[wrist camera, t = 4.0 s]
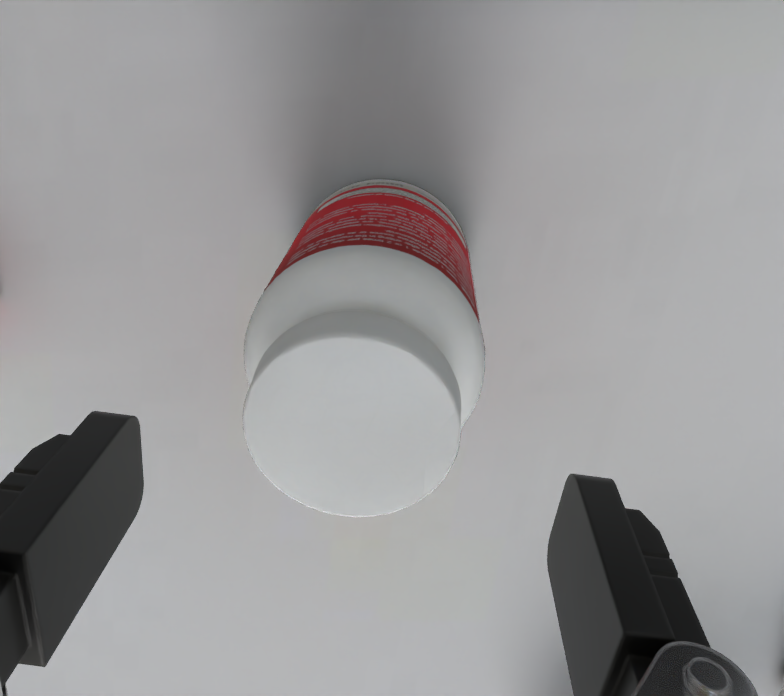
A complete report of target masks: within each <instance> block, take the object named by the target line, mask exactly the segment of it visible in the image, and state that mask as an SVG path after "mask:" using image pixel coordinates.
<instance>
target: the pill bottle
mask: <svg viewBox="0 0 784 696" xmlns="http://www.w3.org/2000/svg"><path fill="white" fill-rule="evenodd" d="M244 363H245V371H246V376H247V381H248V384H249V389H248V392H247V395H246V399H245V403H244V409H243V430H244V435H245V440H246V444H247V446H248V450H249V452H250V453H251V456H252V458H253V460H254V462H255V463H256V465H257V466H258V468H259V469H260V470H261V472H262V473H263V474H264V475H265V477H266V478H267V479H268V480H269V481H270V482H271V483H272V484H273V485H274V486H275V487H276V488H278V489H279V490H280V491H281V492H283V493H284V494H286V495H287V496H289V497H290V498H292V499H294V500H295V501H297V502H299V503H301V504H303V505H305V506H307V507H310V508H312V509H315V510H318V511H321V512H325V513H329V514H333V515H339V516H347V517H371V516H379V515H385V514H389V513H393V512H396V511H398V510H401V509H404V508H407V507H409V506H411V505H413V504H415V503H417V502H418V501H420V500H421V499H423V498H424V497H426V496H427V495H428V494H429V493H431V492H432V491H433V490H434V489H435V488H436V487H437V486H438V485H439V484H440V483H441V482H442V481H443V480H444V478H445V477H446V475H447V474H448V472H449V470H450V469H451V467H452V465H453V463H454V461H455V458H456V456H457V453H458V449H459V445H460V437H461V428H462V427H463V425H464V424H465V423H466V421H467V420H468V418H469V417H470V415H471V414H472V412H473V410H474V408H475V406H476V403H477V401H478V399H479V396H480V392H481V388H482V384H483V378H484V371H485V346H484V340H483V335H482V330H481V325H480V319H479V314H478V307H477V301H476V294H475V287H474V282H473V275H472V269H471V262H470V256H469V250H468V246H467V243H466V240H465V236H464V234H463V232H462V230H461V228H460V226H459V224H458V222H457V221H456V219H455V218H454V216H453V215H452V213H451V212H450V211H449V210H448V209H447V207H446V206H445V205H444V204H443V203H442V202H441V201H439V200H438V199H437V198H436V197H434V196H433V195H431V194H430V193H428V192H427V191H425V190H423V189H421V188H419V187H416V186H414V185H411V184H408V183H405V182H401V181H396V180H387V179H374V180H366V181H361V182H357V183H354V184H351V185H348V186H346V187H344V188H341V189H340V190H338V191H336V192H334V193H333V194H331V195H330V196H329V197H327V198H326V199H325V200H324V201H322V202H321V203H320V204H319V205H318V206H317V207H316V208H315V210H314V211H313V212H312V214H311V215H310V216H309V218H308V219H307V221H306V222H305V223H304V225H303V227H302V229H301V230H300V232H299V233H298V235H297V237H296V239H295V240H294V242H293V244H292V245H291V247H290V248H289V250H288V252H287V254H286V255H285V257H284V258H283V260H282V262H281V264H280V265H279V267H278V269H277V270H276V271H275V274H274V275H273V277H272V279H271V281H270V282H269V284H268V286H267V287H266V288H265V290H264V292H263V294H262V296H261V297H260V299H259V301H258V303H257V305H256V307H255V309H254V311H253V314H252V316H251V319H250V321H249V324H248V328H247V331H246V336H245V344H244Z"/></svg>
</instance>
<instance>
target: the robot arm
mask: <svg viewBox="0 0 784 696" xmlns="http://www.w3.org/2000/svg"><path fill="white" fill-rule="evenodd" d="M143 487H144V480H143V465H142V450H141V435H140V424H139V421H138V419H137V417H135V416H130V415H122V414H114V413H107V412H99V411H93V412H91V413H90V414H89V415H88V416H87V417H86V418H85V419H84V421H83V422H82V423H81V424H80V425H79V426H78V427H77V429H76V430H75V431H74V432H73V433H72V434H71V435H63V434H58V435H56V436H55V437H53V438H51V439H49V440H48V441H46V442H44V443H42V444H40V445H39V446H37V447H35V448H33V449H32V450H31V451H30V452H29V453H28V454H27V455H26V456H25V457H24V458H23V459H22V461H21V462H20V463H19V464H18V465H17V466H16V467H15V468H14V472H10V473H9V474H8V475H7V477H6V478H5V479H4V480H3V481H2V482H1V483H0V696H8V693H7V688H6V681H7V680H8V678H9V677H10V675H11V674H12V672H13V671H14V669H15V668H16V666H17V664H18V663H19V664H27V665H34V666H42V667H45V666H46V665H47V663H48V661H49V660H50V658H51V656H52V655H53V653H54V651H55V650H56V648H57V646H58V645H59V643H60V641H61V640H62V638H63V636H64V635H65V633H66V631H67V630H68V628H69V626H70V625H71V623H72V621H73V620H74V618H75V616H76V615H77V613H78V611H79V610H80V608H81V606H82V605H83V603H84V601H85V600H86V598H87V597H88V595H89V593H90V592H91V590H92V588H93V587H94V585H95V583H96V582H97V580H98V578H99V577H100V575H101V573H102V572H103V570H104V568H105V567H106V565H107V563H108V562H109V560H110V558H111V557H112V555H113V553H114V552H115V550H116V548H117V547H118V545H119V543H120V542H121V540H122V538H123V537H124V535H125V533H126V532H127V530H128V528H129V527H130V525H131V523H132V522H133V520H134V518H135V517H136V515H137V512H138V510H139V507H140V504H141V500H142V495H143ZM669 555H670V554H669V552H668V550H667V547H666V545H665V543H664V540H663V538H662V536H661V534H660V531H659V530H658V529H657V528H656V527H655V526H654V525H653V524H652V523H651V522H650V521H649V520H648V519H647V518H646V517H645V516H644V515H643V513H642V512H641V511H640V510H633V509H626V508H625V507H624V505H623V502H622V500H621V497H620V495H619V492H618V489H617V487H616V484H615V482H614V481H613V480H612V479H608V478H601V477H593V476H585V475H577V474H570V475H569V476H568V478H567V480H566V483H565V486H564V489H563V493H562V496H561V500H560V503H559V507H558V510H557V514H556V517H555V520H554V524H553V527H552V531H551V534H550V538H549V544H548V555H547V563H548V572H549V577H550V582H551V587H552V592H553V597H554V602H555V607H556V611H557V616H558V621H559V626H560V631H561V636H562V641H563V645H564V650H565V655H566V660H567V665H568V670H569V675H570V679H571V684H572V689H573V694H574V696H758V695H757V692H756V690H755V688H754V686H753V685H752V683H751V681H750V680H749V679H748V677H747V676H746V675H745V674H744V672H743V671H742V670H741V669H740V668H739V667H738V666H737V665H736V664H734V663H733V662H732V661H731V660H729V659H728V658H727V657H725V656H724V655H722V654H721V653H719V652H717V651H715V650H713V649H711V647H710V645H709V643H708V641H707V638H706V636H705V634H704V631H703V629H702V627H701V625H700V622H699V620H698V618H697V616H696V613H695V611H694V609H693V606H692V604H691V602H690V600H689V597H688V595H687V593H686V591H685V588H684V586H683V584H682V581H681V579H680V578H678V572H677V570H676V568H675V565H674V563H673V561H672V559H670V558H669Z"/></svg>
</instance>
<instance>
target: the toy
mask: <svg viewBox="0 0 784 696" xmlns="http://www.w3.org/2000/svg"><path fill="white" fill-rule="evenodd" d="M779 696H784V686H783V688H782V690H781V692H780V694H779Z"/></svg>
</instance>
